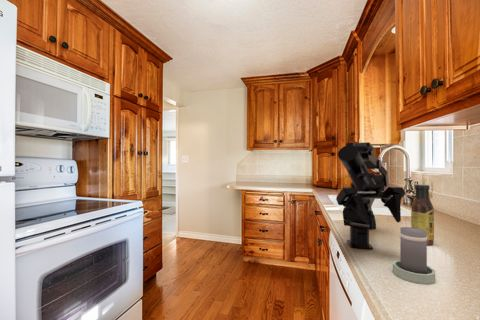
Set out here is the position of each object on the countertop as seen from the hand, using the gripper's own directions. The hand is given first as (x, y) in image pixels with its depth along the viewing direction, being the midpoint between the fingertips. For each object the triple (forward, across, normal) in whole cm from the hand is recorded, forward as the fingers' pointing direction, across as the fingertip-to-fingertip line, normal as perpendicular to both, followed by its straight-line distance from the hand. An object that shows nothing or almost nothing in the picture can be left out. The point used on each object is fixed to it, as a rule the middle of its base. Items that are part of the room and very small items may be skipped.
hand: (383, 222), depth 65 cm
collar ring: (+13, -2, -2) cm, 13 cm away
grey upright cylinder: (+13, -2, -2) cm, 13 cm away
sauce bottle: (-1, -26, -18) cm, 32 cm away
